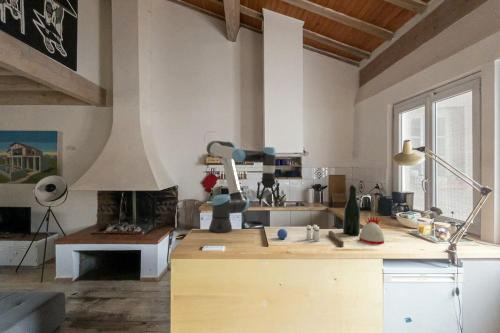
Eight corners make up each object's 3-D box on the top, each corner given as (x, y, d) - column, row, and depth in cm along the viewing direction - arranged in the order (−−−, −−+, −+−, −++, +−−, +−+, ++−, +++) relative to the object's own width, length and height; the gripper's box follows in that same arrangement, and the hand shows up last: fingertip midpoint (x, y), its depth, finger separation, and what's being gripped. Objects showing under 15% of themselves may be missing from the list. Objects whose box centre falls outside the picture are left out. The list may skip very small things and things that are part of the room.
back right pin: (313, 241, 165) (314, 226, 165) (315, 240, 166) (316, 226, 166) (317, 242, 163) (317, 227, 163) (319, 241, 165) (319, 227, 165)
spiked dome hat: (386, 245, 161) (387, 219, 161) (361, 243, 164) (362, 218, 164) (380, 239, 175) (381, 215, 175) (357, 237, 177) (358, 214, 177)
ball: (275, 238, 168) (275, 228, 168) (281, 236, 172) (281, 227, 172) (282, 240, 163) (283, 230, 163) (289, 239, 168) (289, 229, 167)
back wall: (339, 246, 155) (339, 241, 155) (328, 235, 179) (328, 230, 179) (343, 246, 155) (343, 241, 155) (331, 235, 179) (331, 231, 179)
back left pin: (311, 238, 170) (312, 225, 170) (314, 238, 171) (314, 224, 171) (315, 239, 168) (315, 225, 168) (317, 239, 170) (318, 225, 170)
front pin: (305, 239, 167) (306, 225, 167) (307, 238, 169) (308, 225, 169) (309, 240, 165) (309, 226, 165) (311, 239, 167) (311, 225, 167)
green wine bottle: (360, 236, 179) (362, 185, 178) (343, 235, 181) (345, 185, 181) (358, 232, 189) (360, 184, 188) (342, 231, 191) (343, 184, 191)
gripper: (252, 172, 164) (251, 211, 164) (285, 173, 163) (284, 212, 164) (252, 171, 171) (251, 208, 172) (284, 172, 171) (282, 210, 171)
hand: (267, 210), depth 168 cm, fingers open, 6 cm apart
